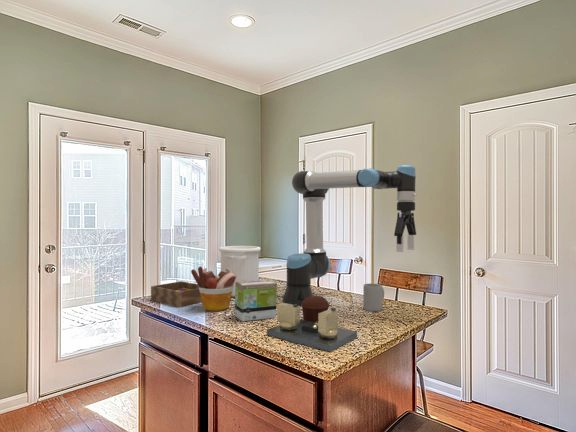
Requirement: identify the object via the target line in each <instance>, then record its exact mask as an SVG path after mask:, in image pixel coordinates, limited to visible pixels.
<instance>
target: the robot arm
mask: <svg viewBox="0 0 576 432" xmlns="http://www.w3.org/2000/svg"><path fill="white" fill-rule="evenodd" d="M416 177H417V176H416V167H415V166H413V165H411V164H410V165H404V164H403V165H399V166H397V169H396V171H395V170H394V171H384V170H383V171H382V170H378V169H375V168H372V167H371V168H370V167H369V168H368V167H365V168H363V169H354V170H340V171H338V170H337V171H326V172H325V171H322V172H316V171H315V172H314V171H312V170H310V171H308V170H300V171H298V172H296V173H295V174H294V175H293V176H292V180H291V185H292V188H293V190H294V191H295V192H296V193H298V194H301V195H302V200H303V201H304V202H305V227H306V228H305V233H306V237H305V238H306V241H305V243H306V246H305V247H306V248H305V250H303V252H301V253H293V254H291V255H288V256H287V259H286V287H285V291H284V294H283V297H282V303H286V304H292V305H294V304H297V305H298V306H300V307H301V304H302V302H303V301H304V300H305V299H306V298H308V297H310V296H314V295H313V291H312V287H311V285H312V284H311V283H312V282H311V279H316V278H317V279H318V278H322V277H324V276H326V275H328V273H329V271H330V270H331V260H330V258H329V257H328V256H327V251H326V249H324V230H323V229H324V217H323V215H324V214H323V211H324V210H323V205H324V204H323V202H324V200H326V194H327V193H328V191H329V189H347V188H348V189H350V188H372V189H374V190H384V189H385V190H386V189H396V201H398V202H396V211H399V212H397V214H396V215H397V219H396V223H395V228H394V235H393V236H394V237H396V245H395V246H396V252H397V253H404V243H405V242H404V241H405V240H404V232H405V229H406V231H407V245H406V246H407V250H409V251H410V250H411V251H412V250H415V236H416V235H417V230H416V229H417V228H416V224H415V214H414V212H412V211H416V203H415V201H416V196H417V193H416Z"/></svg>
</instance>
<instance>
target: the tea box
mask: <svg viewBox="0 0 576 432" xmlns="http://www.w3.org/2000/svg"><path fill="white" fill-rule="evenodd" d="M277 289H278V283H276V282H274V281H271V280H270V279H259V280H254V281H238V282H236V286H235V297H234V316H235V317H236V318H237V320H239V321H241V322H246V321H247V322H249V321H256V320H266V319H267V320H268V319H276V318H277V304H278V303H277V299H278V298H277V295H278V290H277Z"/></svg>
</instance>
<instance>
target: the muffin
mask: <svg viewBox="0 0 576 432" xmlns="http://www.w3.org/2000/svg"><path fill="white" fill-rule="evenodd" d="M330 306H331V305H330V303H329V301H328V300H327V299H325V298H324V297H323V296H320V295H313V296H310V297H308V298H306V299H305V300H304V301H303V302H302V304H301V306H300V308H301V311H302V320H306V321H310V322H317V321H318V313H321V312H324V311H326V310H329V309H330Z"/></svg>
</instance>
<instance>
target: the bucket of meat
mask: <svg viewBox="0 0 576 432" xmlns="http://www.w3.org/2000/svg"><path fill="white" fill-rule="evenodd" d="M197 271H198V272H197ZM226 272H227V273H226ZM226 272H222V271H221V270H220V271H219V273H218V274H215V273H214V272H213V271H212V270H209V271H208V268H207V267H204V268H203V266H198V268H197V270H196V269H191V271H190V273H191V275H192V277H193V278H194V281H195V282H196V284H198V287H199V291H200V296H201V301H202V303H201V305H202V308H203V309H204V310H205V311H208V312H221V311H225V310H227V309H228V308H229V307H230V306H231V305H230V303H231V298H232V297H231V296H232V291H233V288H234V285H233V284H234V282H235V279H236V275H235V274H233V272H232V271H230V269H229V268H226Z"/></svg>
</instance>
